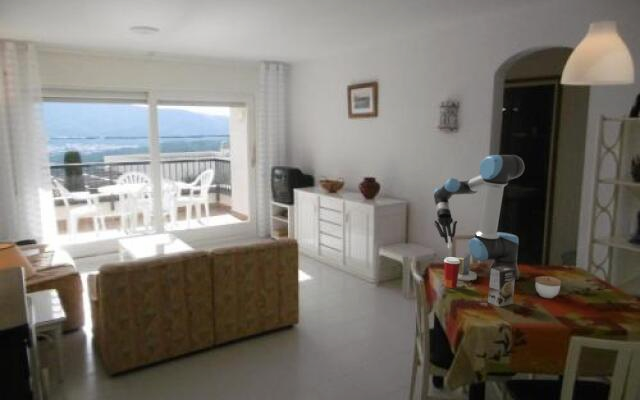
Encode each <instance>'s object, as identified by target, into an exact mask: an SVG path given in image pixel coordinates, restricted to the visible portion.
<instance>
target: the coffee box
mask: <svg viewBox="0 0 640 400" xmlns="http://www.w3.org/2000/svg"><path fill="white" fill-rule="evenodd" d="M515 272H516V269H513V268H510V267H506V266H501V267H495V268H491V274H490V276H489V277H490V278H489V287H488V288H489V289H488V297H487V298H488V300H487V302H488V303H489V304H491V305H494V306H496V307H504V306H508V305H512V304H513V303H514V292H515V283H516V282H515V281H516V280H515Z"/></svg>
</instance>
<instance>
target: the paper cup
mask: <svg viewBox="0 0 640 400" xmlns="http://www.w3.org/2000/svg"><path fill="white" fill-rule="evenodd" d="M458 258H459V257H453V256H448V257H447V256H446V257H445V258H444V260H443V262H444V287H445V288H448V289H456V288H457V286H458V281H459V280H458V273H459V264H460V260H459V259H458Z"/></svg>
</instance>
